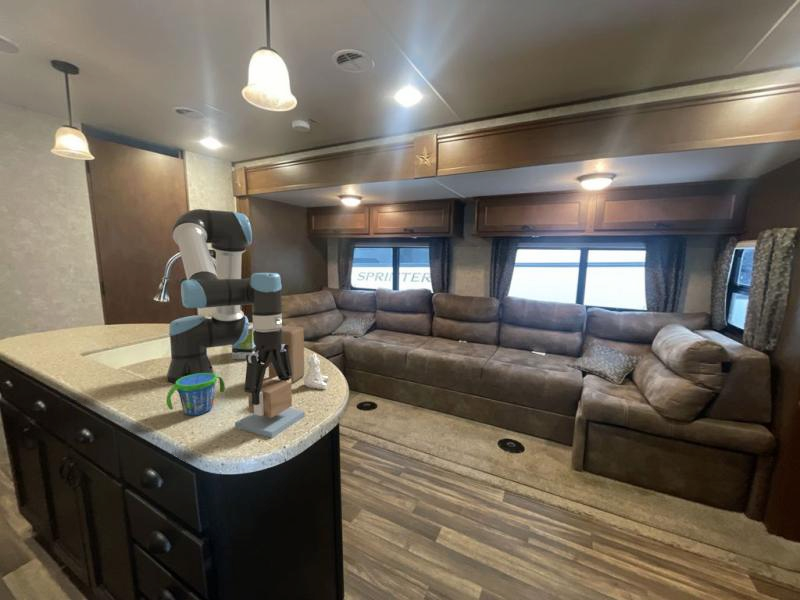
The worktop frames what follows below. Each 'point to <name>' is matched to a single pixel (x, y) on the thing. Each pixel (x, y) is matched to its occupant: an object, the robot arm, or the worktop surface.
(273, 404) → the walnut brick
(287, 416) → the plate
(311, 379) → the sitting furry creature
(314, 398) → the worktop surface
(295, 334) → the block
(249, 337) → the tea box
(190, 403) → the snack cup
